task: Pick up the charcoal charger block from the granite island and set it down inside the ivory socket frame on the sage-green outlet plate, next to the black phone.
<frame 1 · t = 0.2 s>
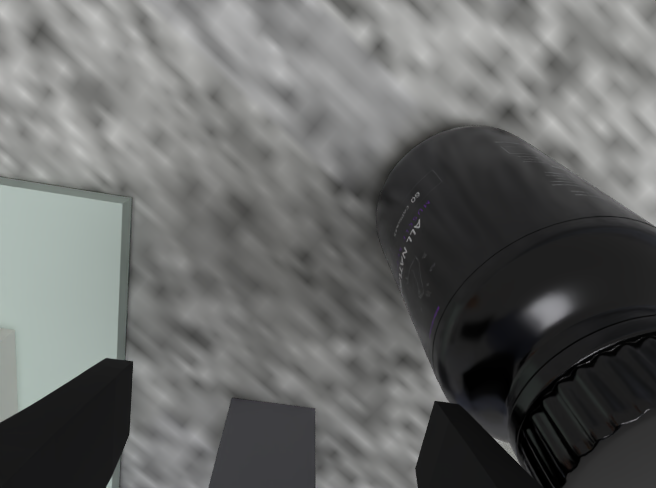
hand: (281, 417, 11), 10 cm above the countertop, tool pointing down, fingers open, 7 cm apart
supplement bottle: (454, 204, 19), on the countertop
charger block: (268, 436, 23), on the countertop
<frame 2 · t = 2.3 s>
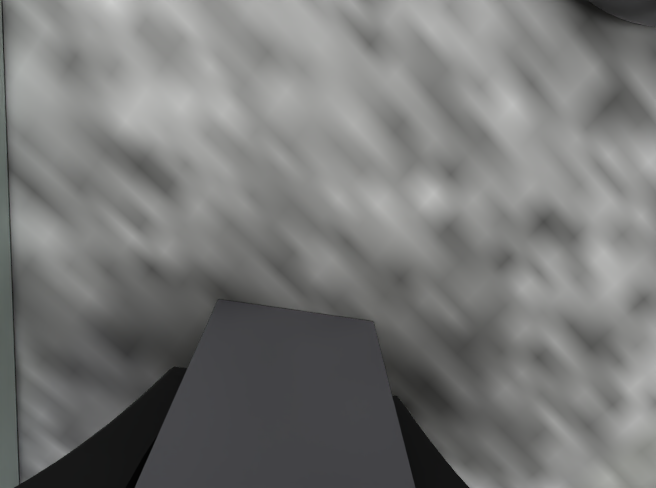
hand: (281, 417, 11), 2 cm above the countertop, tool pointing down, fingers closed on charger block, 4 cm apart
charger block: (285, 377, 13), on the countertop, touching gripper
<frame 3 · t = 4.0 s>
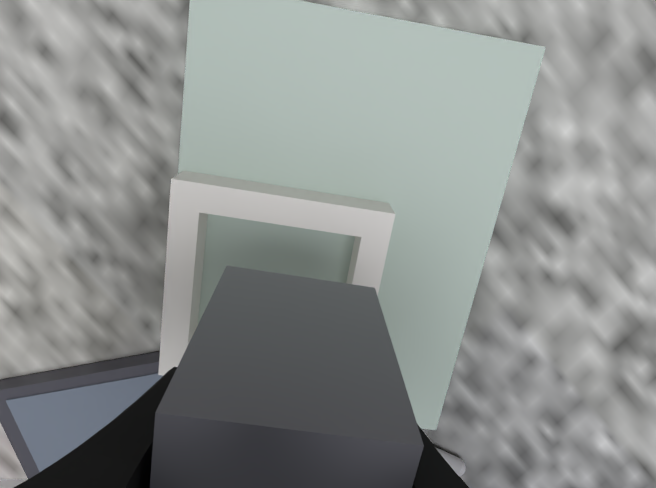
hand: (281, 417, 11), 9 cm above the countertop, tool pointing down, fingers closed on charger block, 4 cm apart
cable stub: (384, 428, 22), on the countertop
charger block: (290, 342, 13), point 7 cm above the countertop, touching gripper
phone: (166, 420, 22), on the countertop
outlet plate: (332, 233, 19), on the countertop
when the fingers open (4 cm above the countertop, at t = 5.9 s): charger block stays where it is, resting on outlet plate.
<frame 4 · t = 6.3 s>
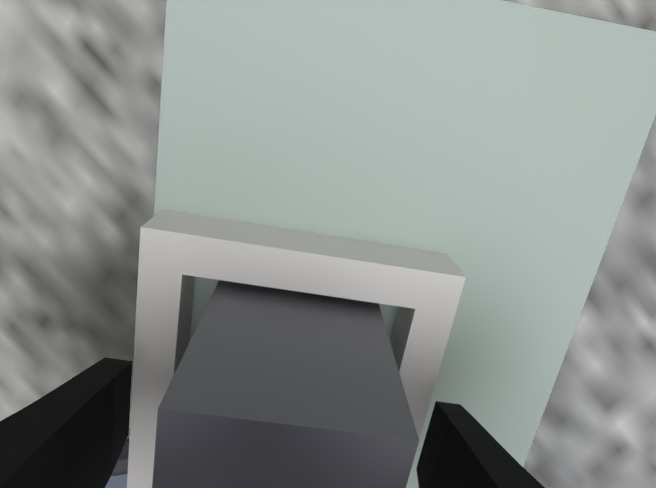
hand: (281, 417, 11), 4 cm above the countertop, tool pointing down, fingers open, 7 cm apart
charger block: (290, 339, 14), point 1 cm above the countertop, touching outlet plate
outlet plate: (365, 289, 14), on the countertop
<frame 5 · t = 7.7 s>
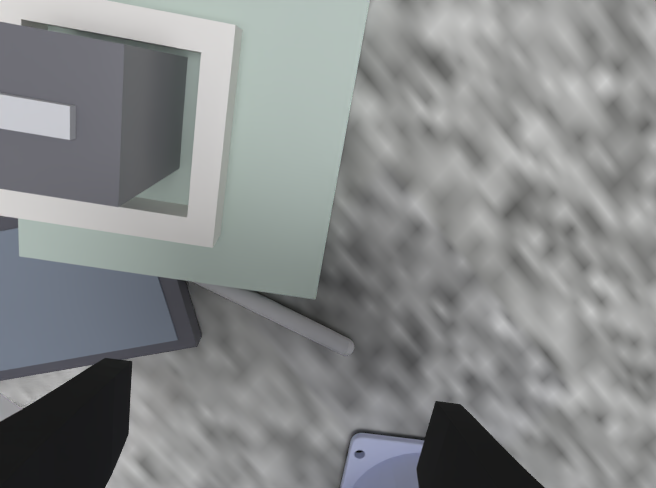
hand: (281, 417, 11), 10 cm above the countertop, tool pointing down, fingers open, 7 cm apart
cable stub: (267, 303, 21), on the countertop
charger block: (127, 105, 17), point 1 cm above the countertop, touching outlet plate
phone: (33, 291, 21), on the countertop
outlet plate: (193, 75, 18), on the countertop
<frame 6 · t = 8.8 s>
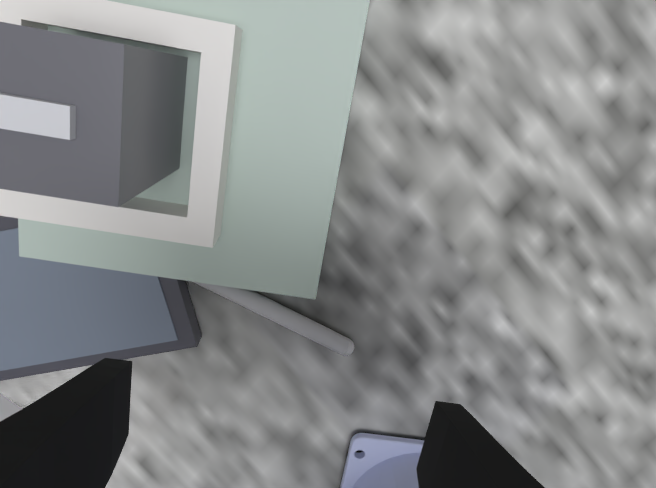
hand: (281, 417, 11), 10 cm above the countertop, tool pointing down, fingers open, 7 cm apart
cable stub: (267, 303, 21), on the countertop
charger block: (127, 105, 17), point 1 cm above the countertop, touching outlet plate
phone: (33, 291, 21), on the countertop
outlet plate: (193, 75, 18), on the countertop
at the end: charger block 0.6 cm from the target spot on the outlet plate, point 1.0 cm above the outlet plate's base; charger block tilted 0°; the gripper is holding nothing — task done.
